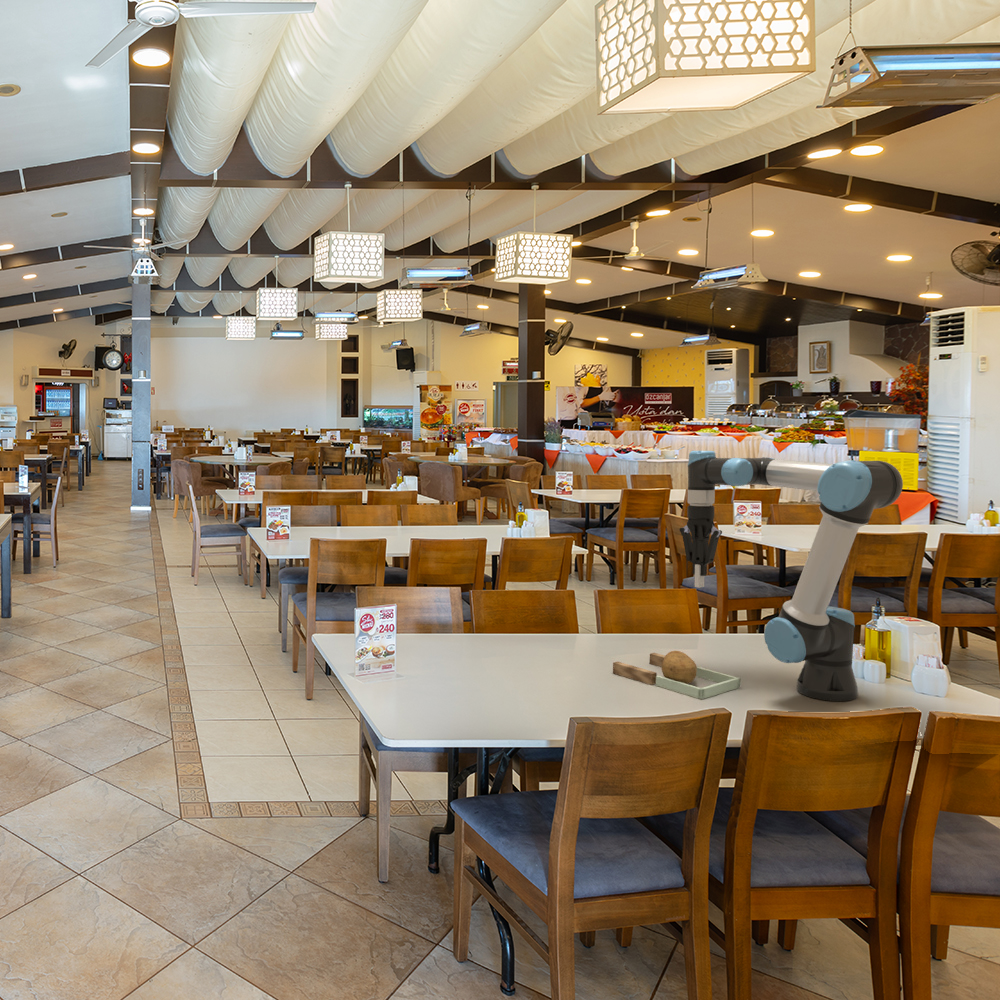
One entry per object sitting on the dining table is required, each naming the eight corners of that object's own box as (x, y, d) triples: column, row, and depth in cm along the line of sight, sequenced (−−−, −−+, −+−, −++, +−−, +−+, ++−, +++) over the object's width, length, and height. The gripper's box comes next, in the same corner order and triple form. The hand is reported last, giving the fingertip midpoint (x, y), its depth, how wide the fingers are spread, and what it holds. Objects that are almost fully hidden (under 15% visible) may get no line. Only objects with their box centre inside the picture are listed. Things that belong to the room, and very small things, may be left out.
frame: (740, 687, 234) (740, 678, 234) (701, 699, 223) (702, 689, 223) (694, 674, 246) (694, 665, 246) (655, 685, 235) (656, 676, 235)
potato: (665, 691, 230) (666, 661, 229) (656, 675, 244) (657, 647, 243) (702, 691, 230) (703, 662, 229) (691, 676, 244) (693, 648, 243)
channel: (692, 673, 247) (692, 663, 247) (651, 684, 235) (651, 673, 235) (653, 662, 257) (654, 652, 257) (612, 673, 246) (613, 662, 246)
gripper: (728, 505, 246) (726, 588, 248) (689, 502, 256) (687, 582, 257) (713, 506, 241) (711, 591, 242) (674, 504, 250) (672, 585, 252)
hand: (699, 586), depth 250 cm, fingers closed
